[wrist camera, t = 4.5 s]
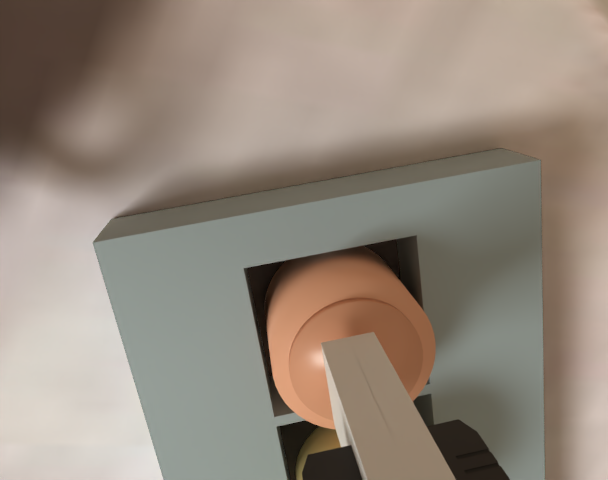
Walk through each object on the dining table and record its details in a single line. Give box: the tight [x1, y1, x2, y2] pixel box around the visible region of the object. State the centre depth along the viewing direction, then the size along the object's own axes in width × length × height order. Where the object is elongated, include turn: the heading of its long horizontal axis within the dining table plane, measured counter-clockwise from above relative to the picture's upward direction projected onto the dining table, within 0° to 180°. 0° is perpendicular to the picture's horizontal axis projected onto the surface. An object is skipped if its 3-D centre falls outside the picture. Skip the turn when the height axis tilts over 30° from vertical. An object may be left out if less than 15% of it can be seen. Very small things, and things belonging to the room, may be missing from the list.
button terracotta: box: [264, 246, 436, 429], centre depth 18 cm, size 5×5×4 cm
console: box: [93, 148, 545, 480], centre depth 21 cm, size 14×21×3 cm, turn 9°
